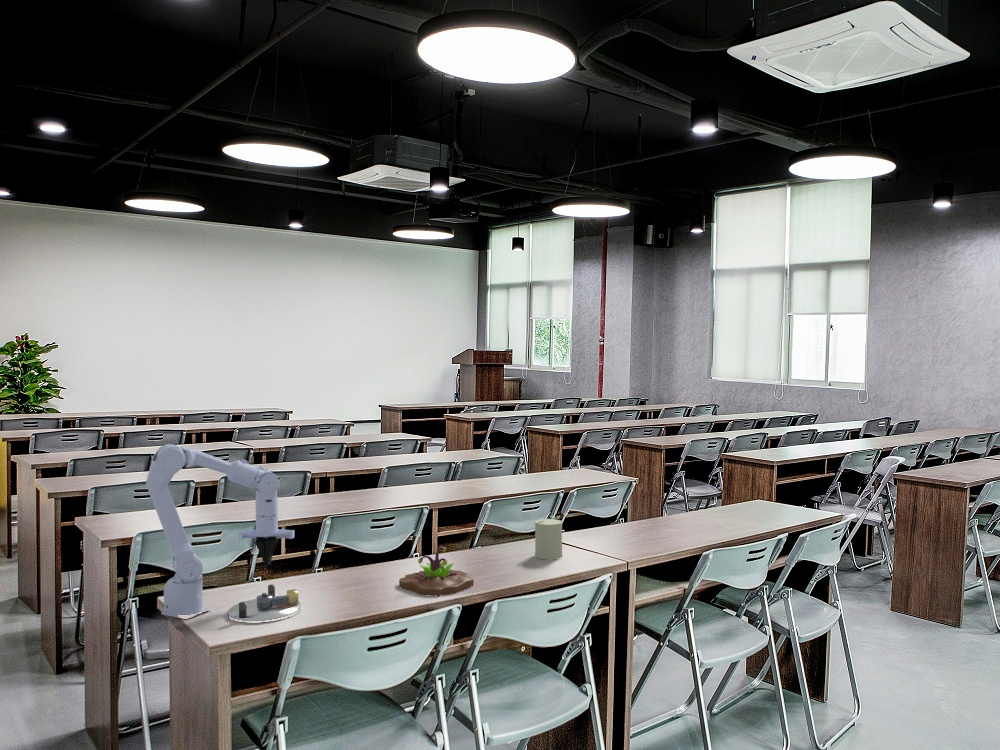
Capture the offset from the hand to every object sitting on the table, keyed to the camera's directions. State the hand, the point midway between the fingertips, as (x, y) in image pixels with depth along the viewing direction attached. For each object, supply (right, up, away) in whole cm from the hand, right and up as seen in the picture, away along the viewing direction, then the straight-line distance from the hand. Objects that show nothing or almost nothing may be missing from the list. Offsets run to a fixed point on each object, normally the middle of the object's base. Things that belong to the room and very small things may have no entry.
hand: (267, 564), depth 206 cm
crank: (+5, -9, -8) cm, 13 cm away
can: (+79, -9, +45) cm, 92 cm away
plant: (+45, -10, +14) cm, 48 cm away
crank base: (+2, -10, -9) cm, 14 cm away
